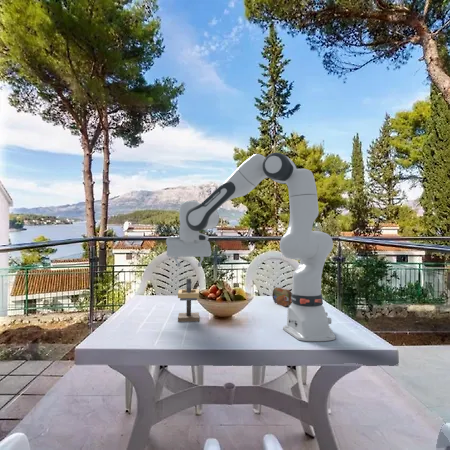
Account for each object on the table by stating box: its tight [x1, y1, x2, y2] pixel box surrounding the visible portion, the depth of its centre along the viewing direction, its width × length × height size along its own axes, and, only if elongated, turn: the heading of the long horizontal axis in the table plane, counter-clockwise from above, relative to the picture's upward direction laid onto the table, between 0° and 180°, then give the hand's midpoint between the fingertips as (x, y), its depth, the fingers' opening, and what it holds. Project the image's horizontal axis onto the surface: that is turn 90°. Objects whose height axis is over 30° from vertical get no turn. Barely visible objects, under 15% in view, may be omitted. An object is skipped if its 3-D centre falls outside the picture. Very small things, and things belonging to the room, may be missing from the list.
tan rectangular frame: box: [177, 288, 200, 299], centre depth 169 cm, size 14×9×2 cm, turn 4°
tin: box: [271, 287, 292, 307], centre depth 194 cm, size 15×3×8 cm, turn 25°
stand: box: [177, 278, 200, 323], centre depth 167 cm, size 9×9×18 cm
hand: (189, 266), depth 174 cm, fingers open, 8 cm apart
